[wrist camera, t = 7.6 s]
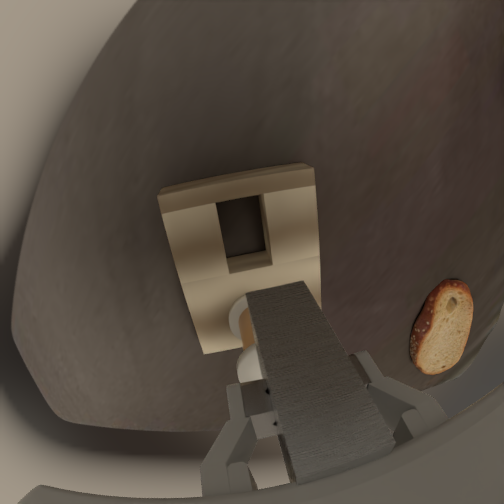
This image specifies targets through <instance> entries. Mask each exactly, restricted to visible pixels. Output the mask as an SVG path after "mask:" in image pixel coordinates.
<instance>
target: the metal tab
mask: <svg viewBox="0 0 504 504" xmlns="http://www.w3.org/2000/svg"><path fill="white" fill-rule="evenodd" d="M245 294H246V300H247V305H248V310H249V315H250V320H251V326H252V331H253V336H254V341H255V346H256V351H257V356H258V361H259V366H260V371H261V375H262V379H265V378H266V382H267V386H268V390H269V395H270V397H271V400H272V404H273V408H274V412H275V417H276V424H277V429H278V435H277V436H278V440H279V444H280V447H281V451H282V455H283V458H284V462H285V466H286V469H287V473H288V476H289V480H290V483H292V482H296V484H297V485H301V484H305V483H309V482H313V481H316V480H320V479H323V478H326V477H329V476H333V475H336V474H339V473H342V472H345V471H347V470H350V469H353V468H356V467H359V466H361V465H364V464H366V463H369V462H371V461H374V460H376V459H379V458H381V457H383V456H386V455H388V454H390V452H391V451H392V449H393V447H394V445H395V443H396V441H395V439H394V438H393V436H392V434H391V432H390V430H389V428H388V427H387V425H386V423H385V421H384V419H383V417H382V416H381V414H380V412H379V410H378V408H377V406H376V405H375V403H374V401H373V399H372V397H371V396H370V394H369V392H368V390H367V388H366V387H365V385H364V383H363V381H362V380H361V378H360V376H359V374H358V372H357V371H356V369H355V367H354V365H353V364H352V362H351V360H350V358H349V357H348V355H347V353H346V352H345V350H344V348H343V346H342V345H341V343H340V341H339V339H338V338H337V336H336V334H335V333H334V331H333V329H332V327H331V326H330V324H329V322H328V321H327V319H326V317H325V316H324V314H323V312H322V310H321V309H320V307H319V305H318V304H317V302H316V300H315V299H314V297H313V295H312V294H311V292H310V290H309V289H308V287H307V285H306V284H305V282H304V280H302V281H298V282H293V283H289V284H284V285H280V286H275V287H271V288H266V289H261V290H257V291H252V292H247V293H245Z"/></svg>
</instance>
